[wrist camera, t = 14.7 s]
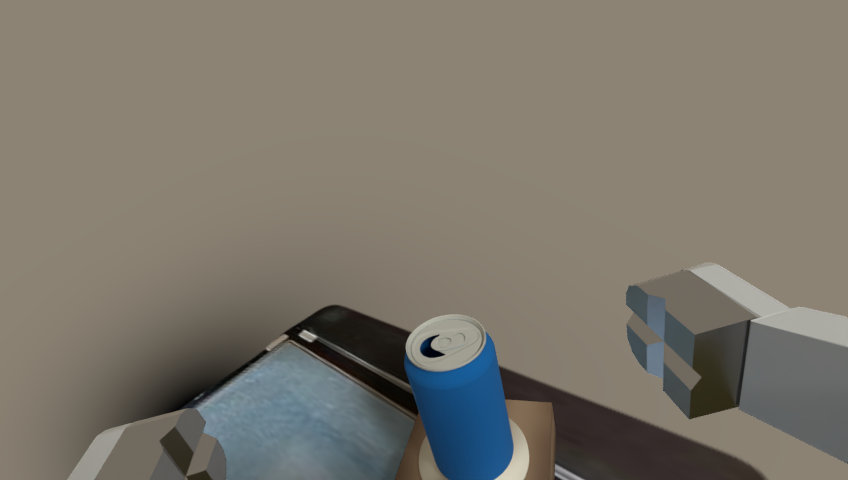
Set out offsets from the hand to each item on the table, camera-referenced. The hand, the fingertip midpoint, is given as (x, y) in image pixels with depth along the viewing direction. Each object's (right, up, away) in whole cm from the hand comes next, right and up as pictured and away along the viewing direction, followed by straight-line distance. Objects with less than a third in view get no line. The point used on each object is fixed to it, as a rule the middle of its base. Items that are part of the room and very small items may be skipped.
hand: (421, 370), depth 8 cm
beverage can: (+4, -15, +27) cm, 31 cm away
